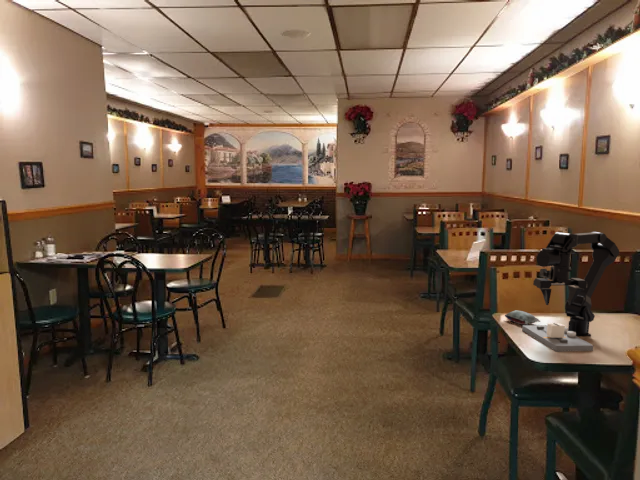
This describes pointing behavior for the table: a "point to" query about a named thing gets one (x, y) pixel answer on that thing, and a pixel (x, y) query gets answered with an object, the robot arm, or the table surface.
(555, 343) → the console
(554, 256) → the robot arm
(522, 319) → the packaged food
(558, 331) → the block
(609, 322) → the table surface
